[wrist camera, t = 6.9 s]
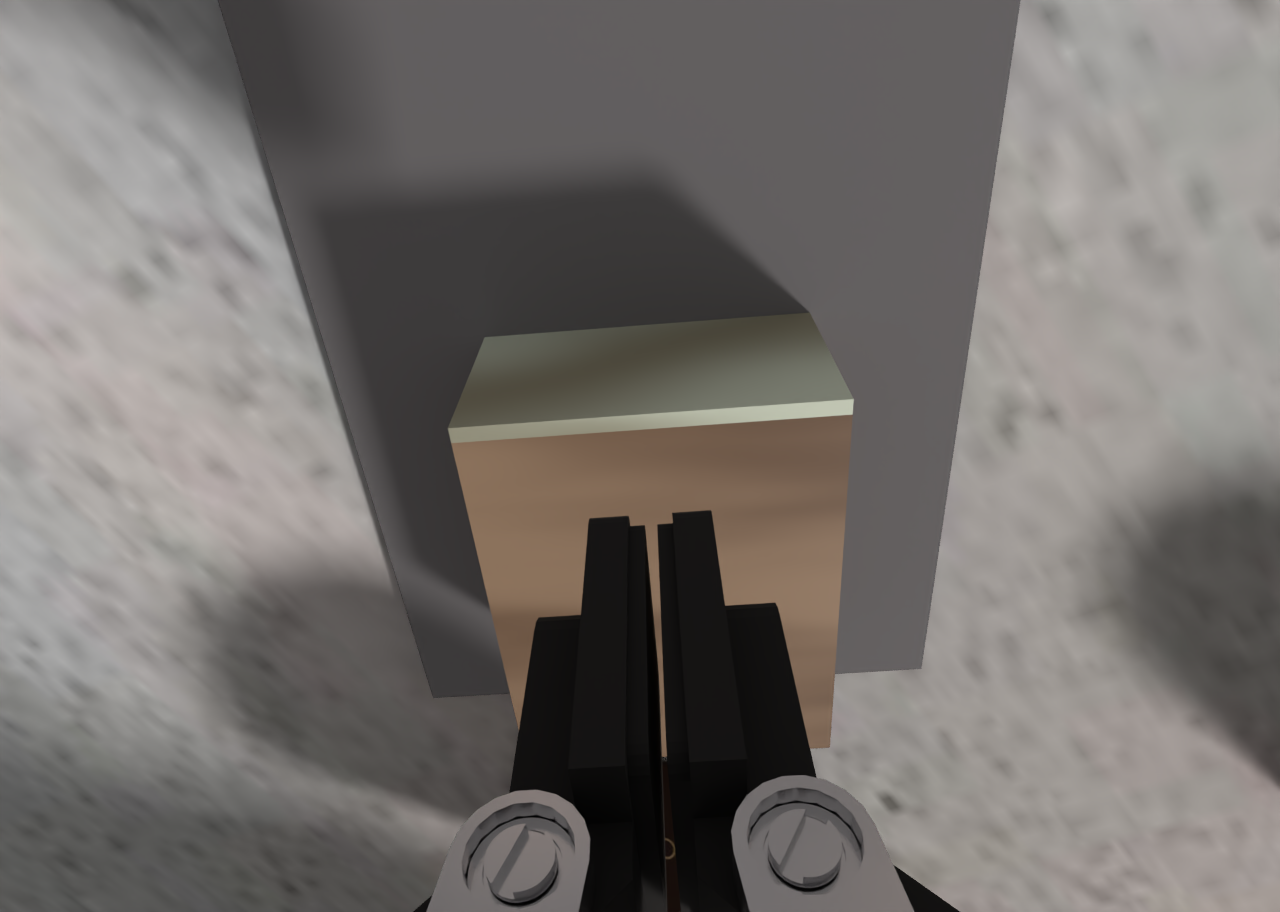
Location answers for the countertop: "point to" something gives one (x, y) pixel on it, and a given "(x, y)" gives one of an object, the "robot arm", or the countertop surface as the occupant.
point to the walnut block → (662, 473)
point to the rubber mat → (636, 234)
